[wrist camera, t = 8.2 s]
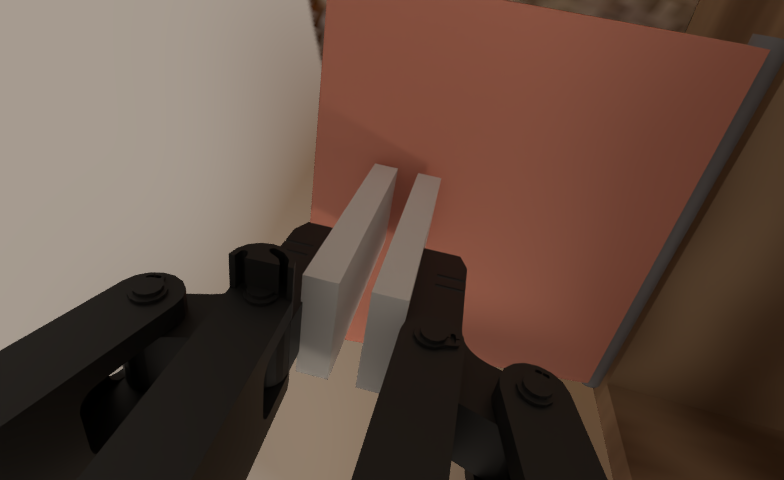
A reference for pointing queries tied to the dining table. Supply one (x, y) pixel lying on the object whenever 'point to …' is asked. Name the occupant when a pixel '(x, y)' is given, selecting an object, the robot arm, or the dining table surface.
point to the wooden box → (713, 311)
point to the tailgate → (534, 156)
